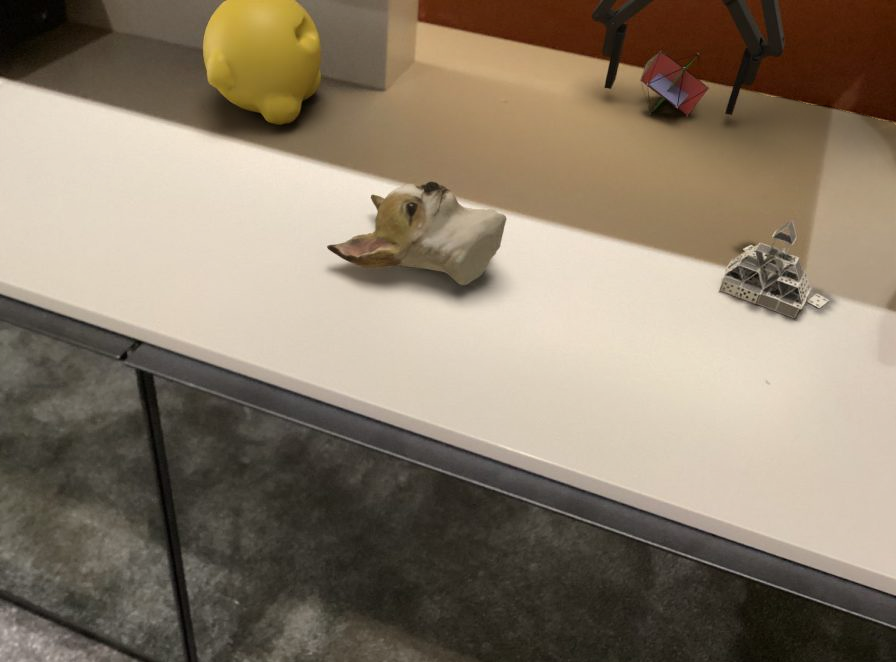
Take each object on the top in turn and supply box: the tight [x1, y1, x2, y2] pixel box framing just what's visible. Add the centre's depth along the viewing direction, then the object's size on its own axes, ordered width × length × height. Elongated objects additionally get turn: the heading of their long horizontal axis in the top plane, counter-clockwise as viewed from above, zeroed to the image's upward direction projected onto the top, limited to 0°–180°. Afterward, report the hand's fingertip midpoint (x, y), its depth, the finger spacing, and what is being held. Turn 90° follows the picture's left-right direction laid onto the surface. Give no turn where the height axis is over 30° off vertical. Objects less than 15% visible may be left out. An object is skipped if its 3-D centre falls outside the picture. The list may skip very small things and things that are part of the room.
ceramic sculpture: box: [326, 181, 507, 286], centre depth 86 cm, size 11×9×15 cm
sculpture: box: [202, 0, 322, 126], centre depth 104 cm, size 15×13×13 cm
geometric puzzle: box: [639, 50, 710, 118], centre depth 108 cm, size 7×7×8 cm
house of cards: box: [718, 219, 830, 320], centre depth 85 cm, size 9×9×8 cm
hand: (668, 96), depth 109 cm, fingers open, 13 cm apart
